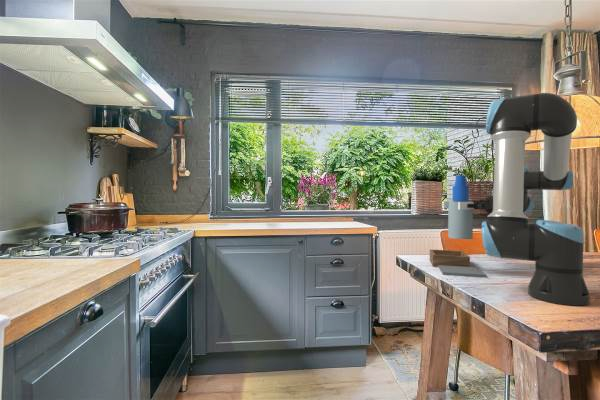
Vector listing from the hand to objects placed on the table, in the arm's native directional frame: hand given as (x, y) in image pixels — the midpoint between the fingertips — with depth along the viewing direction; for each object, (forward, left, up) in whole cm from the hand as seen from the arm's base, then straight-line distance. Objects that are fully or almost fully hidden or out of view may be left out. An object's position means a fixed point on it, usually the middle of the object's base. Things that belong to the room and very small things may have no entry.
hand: (450, 205), depth 136 cm
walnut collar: (+17, -2, -27) cm, 32 cm away
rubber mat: (+2, -4, -27) cm, 27 cm away
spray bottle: (+2, -4, -13) cm, 14 cm away
